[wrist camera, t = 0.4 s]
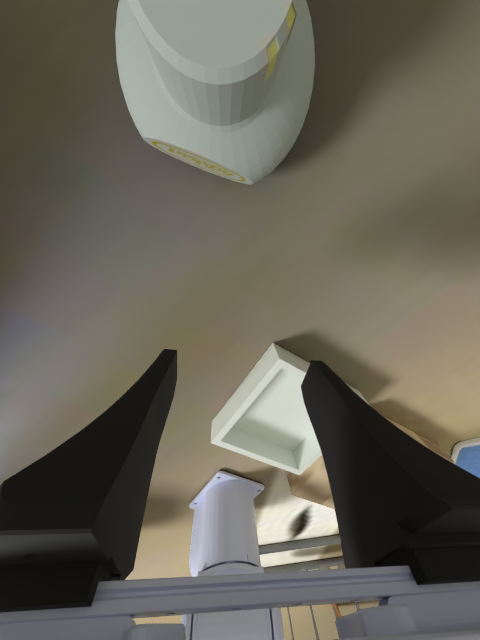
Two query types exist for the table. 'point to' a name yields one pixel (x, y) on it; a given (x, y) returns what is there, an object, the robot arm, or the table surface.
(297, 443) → the tray
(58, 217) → the table surface
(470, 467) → the tablet computer
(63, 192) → the table surface
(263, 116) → the air freshener
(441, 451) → the pin plate
